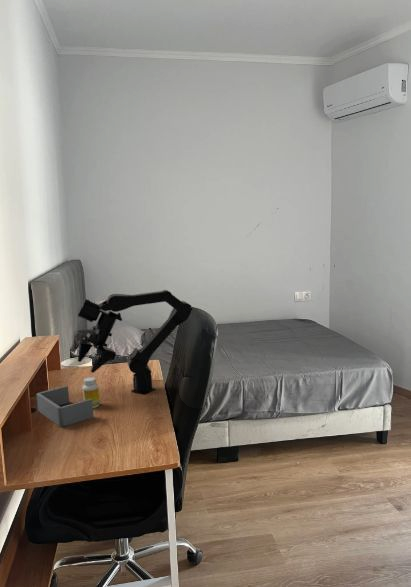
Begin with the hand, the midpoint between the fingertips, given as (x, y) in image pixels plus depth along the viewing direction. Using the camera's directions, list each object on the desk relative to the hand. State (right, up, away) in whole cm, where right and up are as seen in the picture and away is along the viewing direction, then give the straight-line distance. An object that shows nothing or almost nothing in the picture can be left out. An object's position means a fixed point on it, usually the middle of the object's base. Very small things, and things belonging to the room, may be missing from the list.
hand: (85, 366), depth 174 cm
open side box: (-3, -14, -12) cm, 18 cm away
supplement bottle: (+4, -13, -6) cm, 15 cm away
